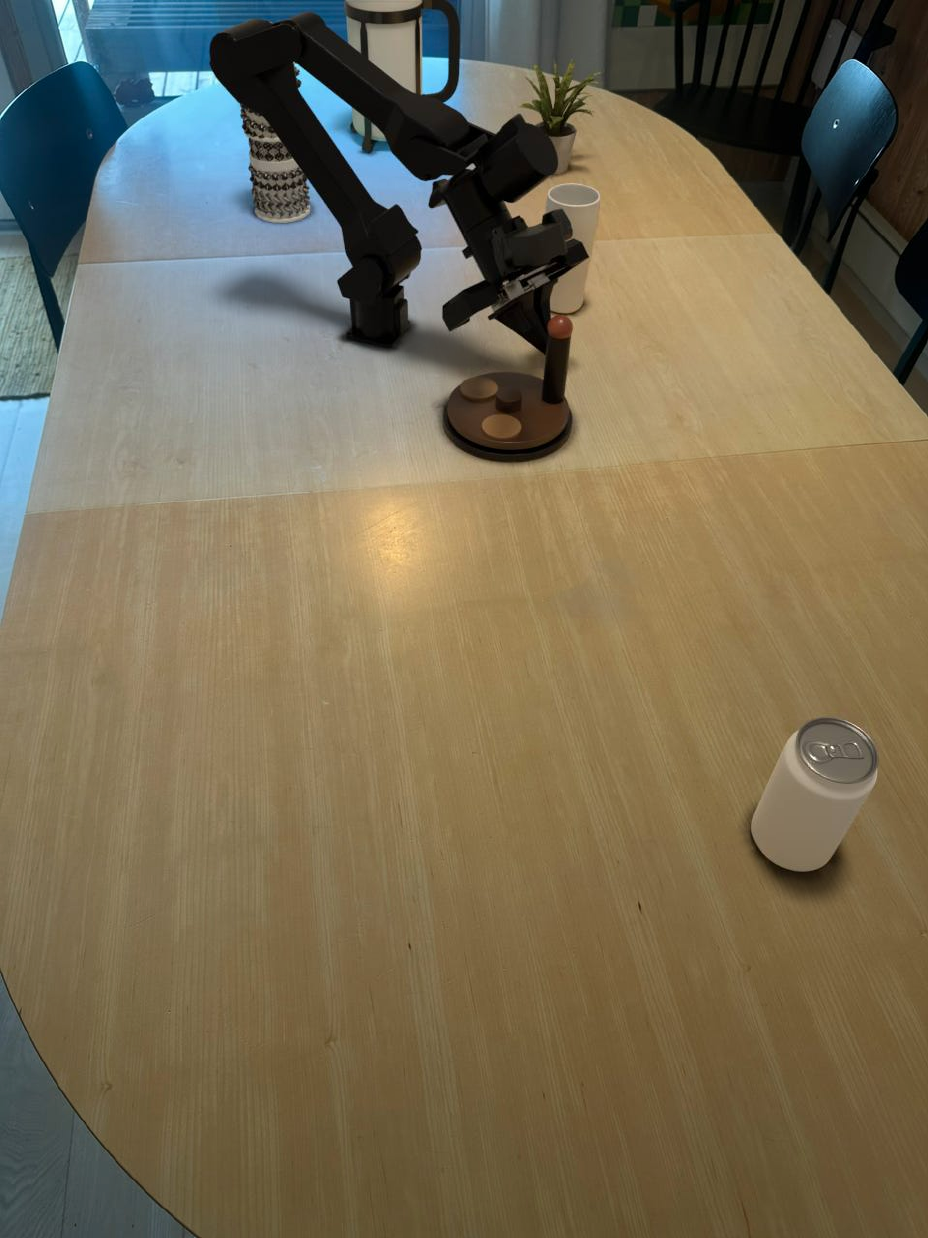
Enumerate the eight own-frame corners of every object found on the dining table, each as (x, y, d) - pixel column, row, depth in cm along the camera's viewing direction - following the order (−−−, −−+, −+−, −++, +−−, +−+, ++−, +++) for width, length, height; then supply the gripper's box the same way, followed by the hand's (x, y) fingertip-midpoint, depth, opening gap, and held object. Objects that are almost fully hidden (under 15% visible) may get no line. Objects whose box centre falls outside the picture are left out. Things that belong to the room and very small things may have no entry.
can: (739, 804, 78) (778, 714, 69) (817, 799, 79) (865, 709, 70) (763, 877, 74) (807, 791, 65) (845, 871, 74) (900, 785, 65)
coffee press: (403, 164, 161) (398, -50, 139) (327, 142, 167) (311, -68, 145) (460, 131, 171) (464, -73, 149) (387, 111, 177) (380, -89, 155)
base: (422, 443, 110) (422, 435, 109) (470, 374, 119) (470, 367, 119) (548, 475, 106) (549, 468, 105) (587, 402, 116) (588, 395, 115)
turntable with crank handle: (469, 459, 106) (472, 369, 97) (432, 389, 115) (431, 300, 106) (587, 437, 109) (600, 347, 101) (542, 370, 118) (550, 283, 109)
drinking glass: (584, 320, 128) (598, 208, 117) (534, 314, 129) (543, 202, 118) (590, 295, 133) (604, 185, 122) (541, 289, 134) (550, 179, 123)
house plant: (600, 190, 156) (614, 80, 144) (514, 188, 156) (521, 77, 144) (593, 154, 165) (606, 48, 153) (512, 152, 165) (519, 45, 153)
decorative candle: (325, 206, 150) (310, 24, 131) (287, 229, 144) (265, 42, 126) (279, 192, 153) (258, 11, 135) (240, 213, 148) (212, 28, 129)
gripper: (462, 217, 95) (535, 361, 98) (586, 164, 104) (650, 298, 107) (410, 263, 105) (478, 393, 108) (528, 212, 114) (588, 333, 117)
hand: (550, 353), depth 110 cm, fingers closed
